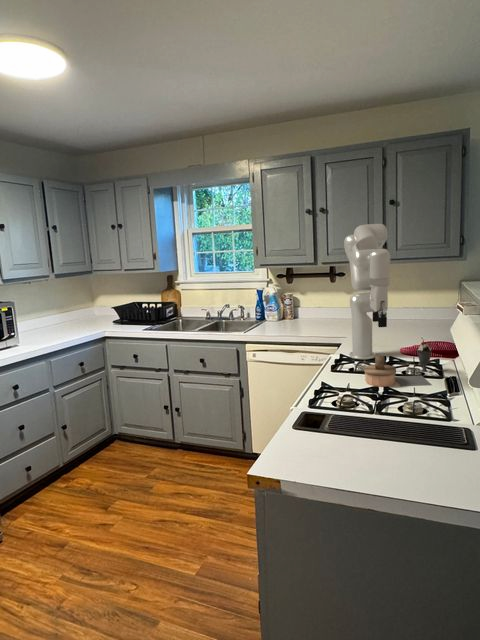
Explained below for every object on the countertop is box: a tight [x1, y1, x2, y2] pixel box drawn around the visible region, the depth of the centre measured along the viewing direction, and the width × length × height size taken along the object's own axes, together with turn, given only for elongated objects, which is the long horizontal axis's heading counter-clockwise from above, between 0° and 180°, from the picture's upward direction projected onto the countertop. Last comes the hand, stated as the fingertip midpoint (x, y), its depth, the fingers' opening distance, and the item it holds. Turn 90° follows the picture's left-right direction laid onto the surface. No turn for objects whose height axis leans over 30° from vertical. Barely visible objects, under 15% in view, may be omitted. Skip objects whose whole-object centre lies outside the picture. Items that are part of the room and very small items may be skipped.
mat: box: [395, 375, 433, 387], centre depth 179 cm, size 12×12×1 cm
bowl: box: [364, 372, 396, 388], centre depth 180 cm, size 11×11×5 cm
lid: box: [363, 354, 397, 376], centre depth 179 cm, size 12×12×6 cm
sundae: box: [415, 337, 433, 373], centre depth 189 cm, size 7×7×15 cm
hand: (379, 324), depth 180 cm, fingers open, 9 cm apart
